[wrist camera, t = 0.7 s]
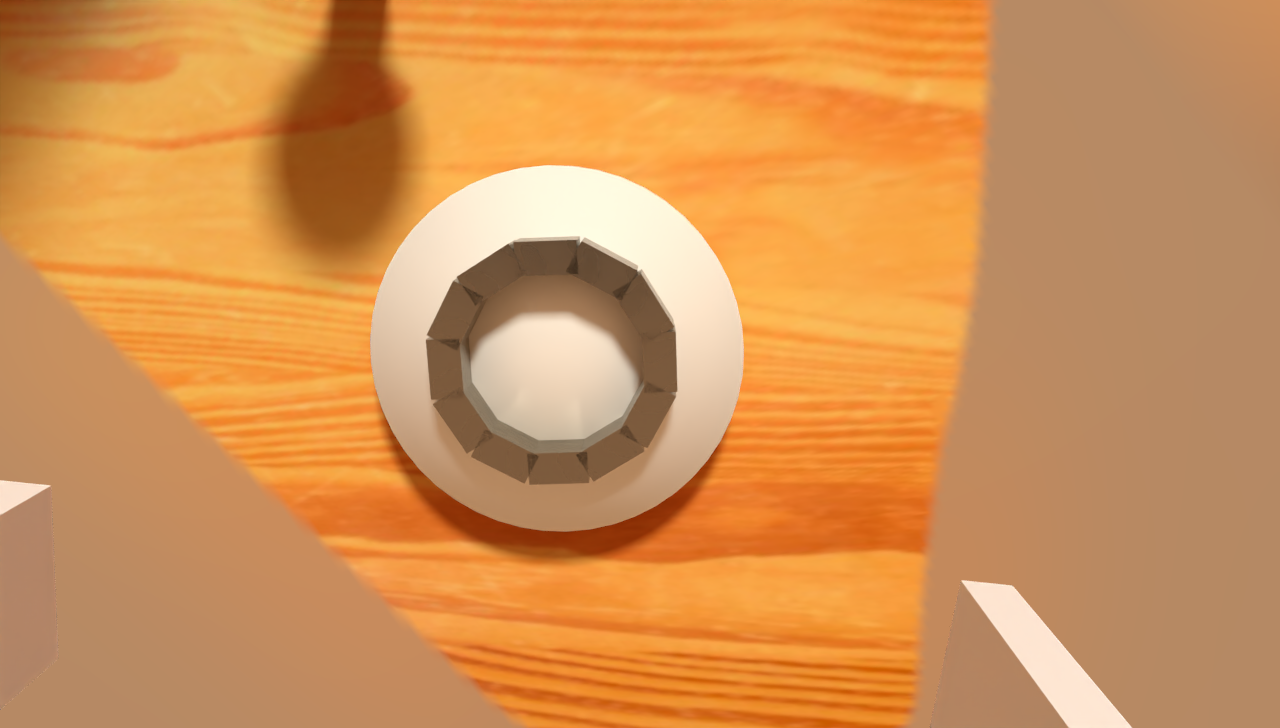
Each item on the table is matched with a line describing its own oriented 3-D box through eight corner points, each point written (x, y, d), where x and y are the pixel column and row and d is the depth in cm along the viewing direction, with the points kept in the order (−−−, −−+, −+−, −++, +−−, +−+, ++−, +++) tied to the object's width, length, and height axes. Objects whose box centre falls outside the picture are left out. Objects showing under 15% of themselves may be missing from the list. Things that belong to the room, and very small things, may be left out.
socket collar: (391, 319, 34) (378, 326, 32) (592, 190, 33) (589, 191, 31) (523, 510, 36) (517, 526, 34) (719, 393, 34) (723, 404, 33)
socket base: (315, 290, 36) (295, 297, 34) (616, 92, 34) (614, 88, 32) (513, 571, 38) (505, 593, 36) (804, 401, 36) (812, 414, 35)
